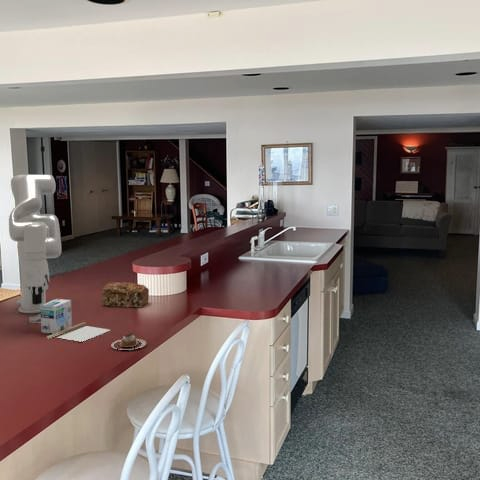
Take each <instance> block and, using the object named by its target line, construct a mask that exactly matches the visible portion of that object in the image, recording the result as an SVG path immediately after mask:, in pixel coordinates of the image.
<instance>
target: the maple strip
mask: <svg viewBox="0 0 480 480" xmlns="http://www.w3.org/2000/svg"><path fill="white" fill-rule="evenodd" d="M82 326H83V327H85V326H87V322H85V321H84V322H81V323H79V324H76V325H73V326H72V327H70V328H68V329H65V330H62V331H60V332H57V333H54V334H49V335H47V336H46V339H47V338H48V339H47V340H50V339H49V338H51V339H53V338H52V337H54V338H56V337H55V336H57V337H59V336H61V335H60V334H62V335H64V334H66V333H65V332H67V333H69V332H68V331H70V332H72V331H74V330H73V329H75V330H77V329H80V328H82ZM79 327H80V328H79ZM76 328H77V329H76ZM71 330H72V331H71ZM63 333H64V334H63ZM58 335H59V336H58Z"/></svg>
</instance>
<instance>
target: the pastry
mask: <svg viewBox="0 0 480 480" xmlns="http://www.w3.org/2000/svg"><path fill="white" fill-rule="evenodd" d="M137 341H139V342H141V343H142V344H141V346H140V345H139V346H138V347H137V345H138V344H139V343H138V342H137ZM117 342H121V343H120V344H119V346H120V347H121V348H120V349H118V350H117V348H115V347H114V344H115V343H117ZM146 345H147V341H146V340H144V339H141V338H136V336H135V335H133V333H132V332H126V333H124V336H122V339H117V340H116V341H114V342H112V343H111V345H110V347H111V348H112V349H114V350H117V351H121V350H129V351H135V350H134V348H135V349H138V348H140V349H142V348H145V346H146ZM122 346H125V347H132V348H122ZM134 346H135V347H134ZM138 350H139V349H138Z"/></svg>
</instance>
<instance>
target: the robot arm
mask: <svg viewBox="0 0 480 480" xmlns="http://www.w3.org/2000/svg"><path fill="white" fill-rule="evenodd" d="M55 180H56V179H55V178H54V176H53V175H52V174H32V173H31V174H28V173H27V174H18V175H15V176H13V177H12V178H11V179H10V188H11V192H12V196H13V198H14V201H15V202H16V205H15V207H13V209H12V210H11V211H10V214H9V216H8V232H9V238H10V239H11V240H12V241H14V242H16V243H17V246H16V247H17V252H18V258H19V266H20V279H21V280H20V282H21V297H20V298H19V300H16V304H19V305H20V306H19V307H18V312H20V313H24V314H36V313H37V314H40V313H41V306H40V305H42V304H45V303H47V297H46V296H47V295H46V291H47V290H49V285H50V270H49V264H48V260H47V259H56V258H59V257H60V256H61V254H62V241H61V229H60V223H59V218H58V217H57V216H56V215H55V214H51V213H41V212H40V211H41V208H42V206H43V201H42V195H45V196H46V195H54V193H55V192H56V181H55Z"/></svg>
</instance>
